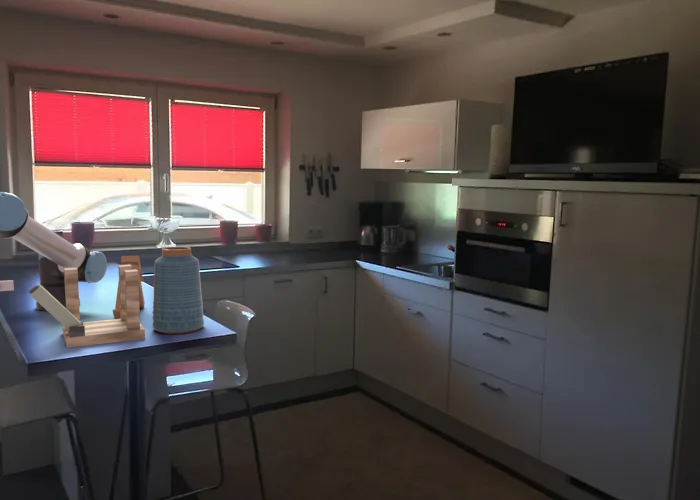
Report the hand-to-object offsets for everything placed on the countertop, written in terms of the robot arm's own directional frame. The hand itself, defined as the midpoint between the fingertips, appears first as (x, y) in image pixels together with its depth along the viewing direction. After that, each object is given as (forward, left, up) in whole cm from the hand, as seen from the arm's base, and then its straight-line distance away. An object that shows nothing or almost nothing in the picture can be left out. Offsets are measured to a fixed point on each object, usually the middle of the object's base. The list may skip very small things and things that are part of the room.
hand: (13, 285), depth 171 cm
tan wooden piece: (-31, +36, -19) cm, 51 cm away
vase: (-5, +47, -19) cm, 51 cm away
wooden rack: (-6, +24, -19) cm, 31 cm away
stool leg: (0, +16, -14) cm, 21 cm away
